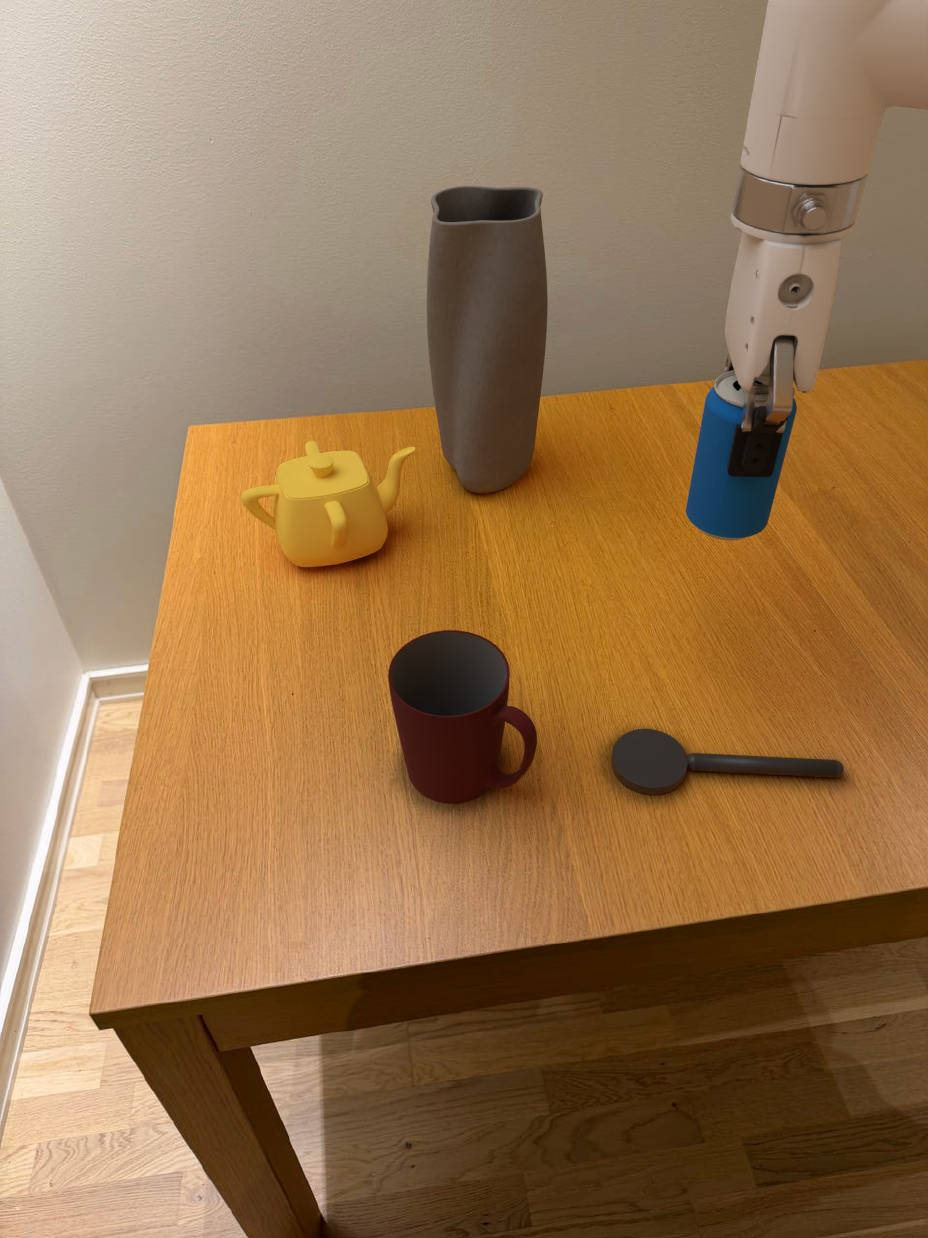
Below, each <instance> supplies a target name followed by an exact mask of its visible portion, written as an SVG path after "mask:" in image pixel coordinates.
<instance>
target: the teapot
mask: <svg viewBox="0 0 928 1238" xmlns="http://www.w3.org/2000/svg"><path fill="white" fill-rule="evenodd" d="M415 451H416V447H415V446H408V447H405V448H402V449H400V450H398V451H396V452H395V453H394V454H393V455H392V456H391V458H390V459H389V461H388V465H387V469H386V474H385V477H384V479H383V481H382V482H381V483H380V484H378V485H376V484H375V481H374V480H373V477H372V475H371V474H370V472H369V470H368V469H367V467H366V465H365V463H364V461H363V459H362V458H361V456H360V455H359V454H358V453H357V452H355V451H353V450H333V451H325V452H322V449H321V446H320V444H319V442H318V441H316V440H309V441H307V442H306V443H305V444H304V452H305V455H304V456H303V455H302V456H299V457H296V458H292V459H289V460H286V461H284V462H282V463H280V465H278V467H277V469H276V473H275V477H274V483H273V484H272V485H271V484H270V485H260V486H254V487H250V488H248V489H246V490H244V491H243V492H242V494H241V496H240V497H241V502H242V506H244V508H245V509H246V511H247V512H248V513H250V514H251V515H252V516H253V517H254V518H256V519H257V520H259V521H260V522H262V523H263V524H265V525H267V526H268V527H270V528H272V529H273V530H274V532H275V536H276V539H277V541H278V544H279V546H280V549H281V550H282V552H283V554H284V556H285V557H286V558H287V559H288V560H289V561H290V563H292V565H294V566H296V567H300V568H316V567H324V566H325V567H326V566H333V565H339V564H344V563H348V562H351V561H355V560H358V559H361V558H364V557H367V556H369V555H372V554H375V553H377V552H378V551H379V550H381V549H382V548H383V545H385V543H386V540H387V538H388V533H389V528H388V522H387V517H386V515H387V514H388V513H389V512H390V511H392V509H393V508H394V507H395V506H396V504H397V501H398V500H399V497H400V496H399V495H400V490H401V474H402V468H403V466H404V463H405V461H406V460H407V459H408V458H409V457H410V456H411V455H412V454H413V453H414V452H415ZM269 497H271V498H272V499H271V501H272V502H271V503H272V515H271V514H270V513H269V512H268V511H266V509H265V508H264V507H263V506H262V504H261V503H260V502H259V500H260V499H263V498H269Z"/></svg>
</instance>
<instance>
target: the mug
mask: <svg viewBox="0 0 928 1238" xmlns="http://www.w3.org/2000/svg"><path fill="white" fill-rule="evenodd" d="M387 678H388V679H387V680H388V687H389V689H388V690H389V695H390V701H391V705H392V711H393V715H394V719H395V725H396V728H397V733H398V734H397V735H398V739H399V742H400V746H401V750H402V756H403V759H404V763H405V767H406V771H407V775H408V778H409V780H410V783H411V784H412V785H413V787H414V788H415V789H416V790H417V791H418V792H419V793H420V794H422V795H423V796H424V797H426V798H428V799H431V800H433V801H435V802H440V803H446V804H448V803H449V804H455V803H463V802H468V801H470V800H473V799H476V798H477V797H479V796H481V795H483V794H484V793H485V792H486V791H487V790H488V789H490V788H495V789H505V788H509V787H512V786H513V785H514V784H516V783H517V782H519V781H520V780H521V779H522V778H523V776H524V775H525V774H526V773H527V772H528V770H529V769H530V767H531V766H532V764H533V761H534V759H535V755H536V751H537V746H538V745H537V744H538V732H537V728H536V725H535V723H534V722H533V720H532V718H531V717H530V716H529V715H528V714H527V713H526V712H525V711H523V710H522V709H520V708H518V707H516V706H512V705H508V702H509V694H510V693H509V692H510V678H511V672H510V664H509V661H508V659H507V657H506V655H505V653H504V652H503V651H502V650H501V648H499V646H498V645H496V644H495V643H493V642H492V641H491V640H490V639H488V638H486V637H483V636H482V635H479V634H476V633H474V632H470V631H464V630H458V629H444V630H435V631H431V632H428V633H424V634H422V635H420V636H417V637H415V638H412V639H411V640H409V641H408V642H407V643H405V644H404V645H402V646H401V647H400V649H398V650H397V652H395V654H394V656H393V657H392V659H391V660H390V663H389V667H388V673H387ZM506 723H507V724H508V725H510V726H512V727H514V728H515V729H516V730H517V732H519V734H520V736H521V738H522V740H523V746H524V748H523V756H522V761H521V763H520V766H519V768H518V770H516V771H514V772H510V773H503V772H502V771H501V769H500V759H501V754H502V753H501V752H502V746H503V739H504V734H505V725H506Z"/></svg>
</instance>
